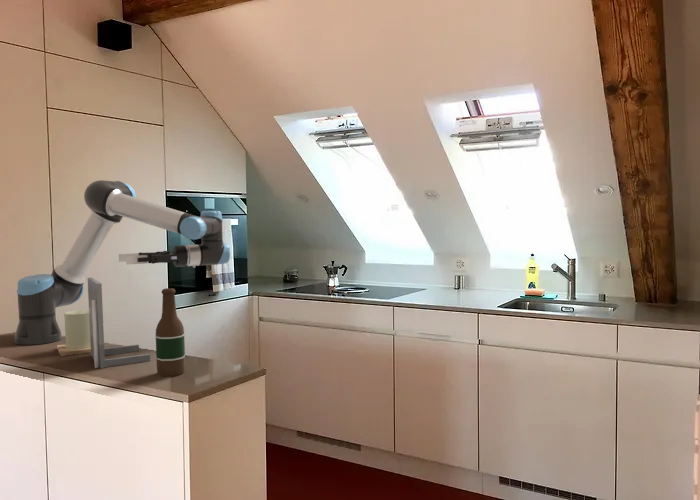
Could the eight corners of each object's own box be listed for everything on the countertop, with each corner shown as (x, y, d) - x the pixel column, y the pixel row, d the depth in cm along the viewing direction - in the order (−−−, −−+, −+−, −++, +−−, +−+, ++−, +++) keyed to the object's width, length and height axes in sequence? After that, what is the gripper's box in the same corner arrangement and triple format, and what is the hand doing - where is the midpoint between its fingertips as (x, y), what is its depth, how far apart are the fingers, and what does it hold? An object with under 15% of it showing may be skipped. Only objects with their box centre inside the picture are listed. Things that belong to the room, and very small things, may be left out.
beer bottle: (158, 378, 170) (155, 291, 168) (155, 371, 177) (152, 288, 176) (187, 374, 173) (184, 289, 171) (183, 368, 180) (180, 286, 179)
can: (66, 350, 201) (64, 313, 200) (64, 345, 209) (63, 309, 209) (96, 347, 205) (95, 311, 205) (94, 342, 214) (92, 307, 213)
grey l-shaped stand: (86, 356, 198) (82, 278, 197) (137, 349, 206) (134, 274, 204) (95, 369, 181) (91, 284, 179) (151, 361, 189) (148, 280, 187)
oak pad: (57, 348, 210) (57, 345, 210) (98, 343, 216) (98, 340, 216) (61, 356, 199) (60, 352, 198) (104, 350, 205) (104, 347, 205)
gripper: (196, 268, 208) (130, 273, 198) (176, 264, 230) (116, 267, 219) (195, 246, 208) (129, 249, 197) (176, 243, 229) (115, 246, 219)
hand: (122, 259), depth 208 cm, fingers open, 13 cm apart
